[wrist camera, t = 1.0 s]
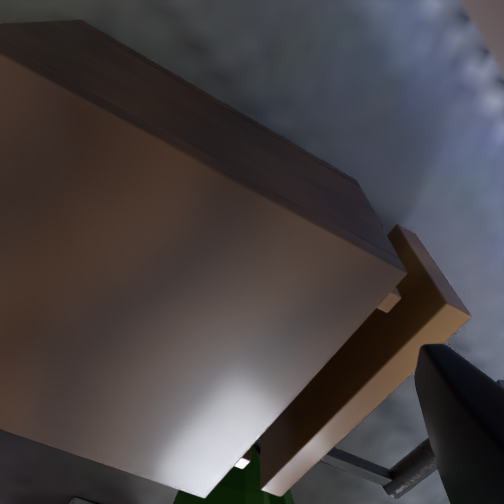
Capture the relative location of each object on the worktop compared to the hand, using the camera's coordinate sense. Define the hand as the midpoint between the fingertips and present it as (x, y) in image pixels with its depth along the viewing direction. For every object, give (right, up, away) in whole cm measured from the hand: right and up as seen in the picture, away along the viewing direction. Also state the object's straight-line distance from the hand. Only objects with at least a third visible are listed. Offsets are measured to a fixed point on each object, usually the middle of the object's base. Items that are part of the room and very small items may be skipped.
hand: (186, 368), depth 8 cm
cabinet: (-3, +3, +13) cm, 14 cm away
